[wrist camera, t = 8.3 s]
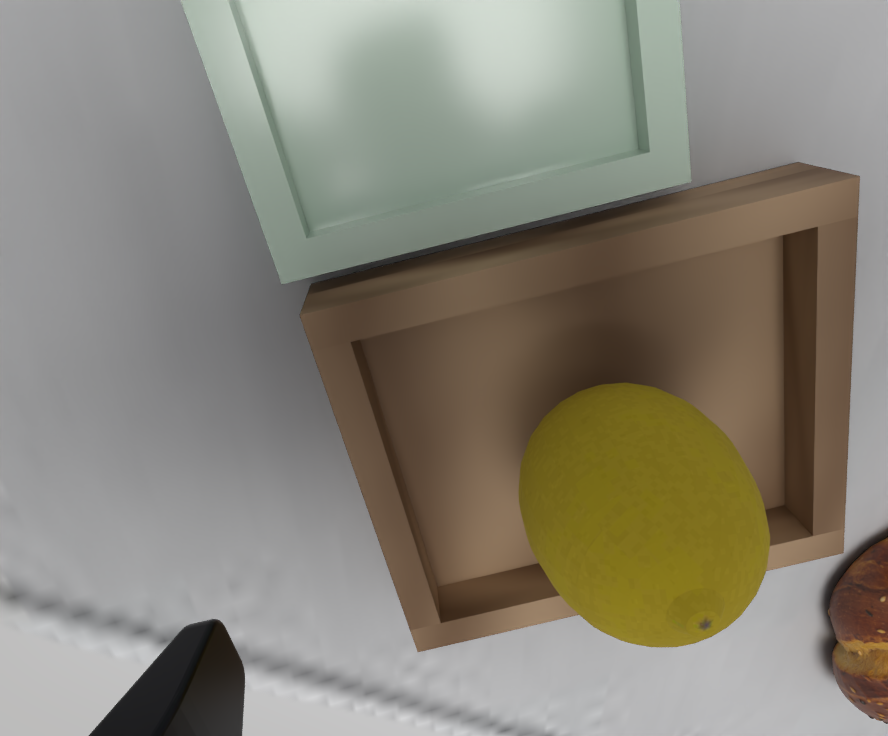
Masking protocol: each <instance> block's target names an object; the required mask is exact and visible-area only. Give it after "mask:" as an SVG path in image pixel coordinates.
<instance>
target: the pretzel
mask: <svg viewBox="0 0 888 736" xmlns="http://www.w3.org/2000/svg"><path fill="white" fill-rule="evenodd" d="M828 614H829V616H830V619H831V623H832V626H833V629H834V631H835V635H836V639H837V640H838V642H837V644H836V645H835V647H834V649H833V652H832V667H833V674H834V676H835V679H836V681H837V683H838V685H839V687H840V689H841V691H842V692H843V694H844V695H845V696H846V698H847V699H848V700H849V701H850V702H851V703H852V704H854V705H855V706H856V707H857V708H858V709H859V710H861V711H862V712H864V713H865V714H867V715H868V716H869V717H870V718H872V719H874V718H875V719H876V720H879V721H883V722H884V723H886V724H888V537H887V538H886V539H884V540H882V541H880V542H878V543H876V544H874V545H872V546H871V547H870V548H869V549H867V550H866V551H865V552H864V553H863V554H862V555H861V556H860V557H859V558H858V559H857V560H855V561H854V562H853V564H852V565H851V566H850V567H849V568H848V569H847V571H846V572H845V574H844V575H843V576H842V577H841V579H840V580H839V582H838V583H837V585H836V587H835V588H834V591H833V593H832V595H831V599H830V608H829V609H828Z"/></svg>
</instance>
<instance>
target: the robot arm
mask: <svg viewBox="0 0 888 736" xmlns="http://www.w3.org/2000/svg"><path fill="white" fill-rule="evenodd" d="M244 691H245V673H244V667H243V664H242V661H241V659H240V657H239V655H238V653H237V650H236V648H235V646H234V644H233V642H232V640H231V638H230V636H229V634H228V632H227V630H226V628H225V626H224V625H223V623H222V622H221V621H220V620H217V619H211V620H207V621H202V622H198V623H194V624H190V625H188V626H186V627H184V628H183V629H182V630H181V631H180V632H179V634H178V635H177V636H176V637H175V638H174V639H173V640H172V641H171V643H170V644H169V645H168V646H167V647H166V648H165V649H164V651H163V652H162V653H161V654H160V655H159V656H158V657H157V659H156V660H155V661H154V662H153V663H152V664H151V665H150V667H149V668H148V669H147V670H146V671H145V672H144V673H143V675H142V676H141V677H140V678H139V679H138V680H137V681H136V682H135V684H134V685H133V686H132V687H131V688H130V689H129V691H128V692H127V693H126V694H125V695H124V696H123V697H122V698H121V700H120V701H119V702H118V703H117V704H116V705H115V706H114V708H113V709H112V710H111V711H110V712H109V713H108V714H107V715H106V717H105V718H104V719H103V720H102V721H101V722H100V723H99V725H98V726H97V727H96V728H95V729H94V730H93V731H92V733H91V734H90V735H89V736H242V727H243V708H244Z"/></svg>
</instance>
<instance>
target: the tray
mask: <svg viewBox="0 0 888 736" xmlns="http://www.w3.org/2000/svg"><path fill="white" fill-rule="evenodd" d="M859 183H860V176H857V175H852V174H848V173H844V172H839V171H835V170H830V169H826V168H822V167H817V166H813V165H808V164H804V163H800V162H797V163H793V164H789V165H785V166H781V167H777V168H773V169H769V170H765V171H761V172H757V173H753V174H749V175H745V176H741V177H737V178H733V179H729V180H725V181H721V182H717V183H713V184H709V185H705V186H701V187H697V188H693V189H689V190H685V191H681V192H677V193H673V194H669V195H665V196H661V197H657V198H653V199H649V200H645V201H641V202H637V203H633V204H629V205H625V206H621V207H617V208H613V209H609V210H605V211H601V212H597V213H593V214H589V215H585V216H581V217H577V218H573V219H569V220H565V221H561V222H557V223H553V224H549V225H545V226H541V227H537V228H533V229H529V230H525V231H521V232H517V233H513V234H509V235H505V236H501V237H497V238H493V239H489V240H485V241H481V242H477V243H473V244H469V245H465V246H461V247H457V248H453V249H449V250H445V251H441V252H437V253H433V254H429V255H425V256H421V257H417V258H413V259H409V260H405V261H401V262H397V263H393V264H389V265H385V266H381V267H377V268H373V269H369V270H365V271H361V272H357V273H353V274H349V275H345V276H341V277H337V278H333V279H329V280H325V281H321V282H317V283H313V284H311V285H310V288H309V291H308V294H307V296H306V299H305V302H304V305H303V307H302V310H301V313H300V318H301V321H302V324H303V327H304V330H305V333H306V335H307V338H308V341H309V344H310V347H311V350H312V352H313V355H314V358H315V361H316V364H317V367H318V369H319V372H320V375H321V378H322V381H323V384H324V387H325V389H326V392H327V395H328V398H329V401H330V404H331V406H332V409H333V412H334V415H335V418H336V421H337V424H338V426H339V429H340V432H341V435H342V438H343V441H344V443H345V446H346V449H347V452H348V455H349V458H350V460H351V463H352V466H353V469H354V472H355V475H356V478H357V480H358V483H359V486H360V489H361V492H362V495H363V497H364V500H365V503H366V506H367V509H368V512H369V515H370V517H371V520H372V523H373V526H374V529H375V532H376V534H377V537H378V540H379V543H380V546H381V549H382V551H383V554H384V557H385V560H386V563H387V566H388V569H389V571H390V574H391V577H392V580H393V583H394V586H395V588H396V591H397V594H398V597H399V600H400V603H401V606H402V608H403V611H404V614H405V617H406V620H407V623H408V625H409V628H410V631H411V634H412V637H413V640H414V642H415V645H416V648H417V651H418V652H421V651H425V650H429V649H434V648H438V647H442V646H447V645H451V644H455V643H459V642H464V641H468V640H472V639H477V638H481V637H485V636H490V635H494V634H498V633H502V632H507V631H511V630H515V629H520V628H524V627H528V626H532V625H537V624H541V623H545V622H550V621H554V620H558V619H563V618H567V617H571V616H575V615H579V614H578V613H577V612H576V611H575V610H574V609H572V608H571V607H570V606H569V605H568V604H567V603H566V602H565V600H564V599H563V598H562V597H561V596H560V594H559V593H558V592H557V590H556V589H555V588H554V586H553V585H552V583H551V581H550V580H549V578H548V577H547V575H546V573H545V572H544V570H543V569H542V567H541V565H540V564H539V562H538V561H537V559H536V557H535V555H534V553H533V551H532V549H531V547H530V544H529V542H528V539H527V535H526V531H525V527H524V523H523V519H522V515H521V511H520V505H519V479H520V467H521V461H522V458H523V456H524V453H525V450H526V447H527V445H528V442H529V439H530V437H531V435H532V434H533V432H534V431H535V429H536V428H537V426H538V425H539V423H540V422H541V421H542V419H543V418H544V417H545V416H546V415H547V414H548V413H549V412H550V411H551V410H552V409H553V408H554V407H555V406H557V405H558V404H559V403H560V402H561V401H563V400H565V399H567V398H568V397H570V396H572V395H574V394H575V393H577V392H579V391H582V390H585V389H588V388H591V387H594V386H598V385H602V384H614V383H632V384H639V385H645V386H651V387H655V388H658V389H660V390H663V391H665V392H667V393H669V394H672V395H674V396H676V397H679V398H681V399H683V400H685V401H687V402H688V403H690V404H692V405H693V406H694V407H696V408H697V409H698V410H699V411H701V412H702V413H703V414H704V415H705V416H706V417H708V418H709V419H710V420H711V421H712V422H713V423H715V424H716V425H717V426H718V427H719V428H720V429H721V430H722V431H723V432H724V433H725V434H726V435H727V437H728V438H729V439H730V440H731V442H732V443H733V445H734V446H735V448H736V449H737V451H738V452H739V454H740V456H741V457H742V459H743V461H744V462H745V464H746V466H747V467H748V469H749V471H750V473H751V474H752V476H753V478H754V480H755V482H756V484H757V487H758V489H759V491H760V494H761V497H762V500H763V503H764V507H765V512H766V517H767V522H768V527H769V533H770V548H769V556H768V564H767V569H766V571H769V570H773V569H777V568H782V567H786V566H790V565H794V564H799V563H803V562H807V561H812V560H816V559H820V558H824V557H829V556H833V555H837V554H842V553H843V551H844V528H845V505H846V482H847V459H848V436H849V413H850V390H851V367H852V344H853V321H854V298H855V275H856V252H857V229H858V206H859Z"/></svg>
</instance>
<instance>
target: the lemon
mask: <svg viewBox="0 0 888 736" xmlns="http://www.w3.org/2000/svg"><path fill="white" fill-rule="evenodd" d="M519 505H520V511H521V515H522V519H523V523H524V527H525V531H526V535H527V539H528V542H529V544H530V547H531V549H532V551H533V553H534V555H535V557H536V559H537V561H538V562H539V564H540V565H541V567H542V569H543V570H544V572H545V573H546V575H547V577H548V578H549V580H550V581H551V583H552V585H553V586H554V588H555V589H556V590H557V592H558V593H559V594H560V596H561V597H562V598H563V599H564V600H565V602H566V603H567V604H568V605H569V606H570V607H571V608H572V609H574V610H575V611H576V612H577V613H578V614H579V615H580V616H582V617H583V618H584V619H585V620H586V621H587V622H589V623H590V624H591V625H592V626H593V627H595V628H597V629H599V630H600V631H602V632H604V633H606V634H608V635H610V636H613V637H615V638H617V639H619V640H622V641H625V642H628V643H632V644H637V645H643V646H648V647H679V646H683V645H688V644H693V643H696V642H699V641H701V640H704V639H707V638H709V637H712V636H713V635H715V634H717V633H718V632H720V631H722V630H723V629H725V628H727V627H728V626H729V625H730V624H732V623H733V622H734V621H735V620H736V619H737V618H738V617H740V616H741V615H742V613H743V612H744V611H745V609H746V608H747V607H748V605H749V604H750V603H751V601H752V600H753V598H754V597H755V596H756V594H757V591H758V589H759V587H760V585H761V582H762V580H763V578H764V575H765V572H766V569H767V564H768V556H769V548H770V533H769V527H768V522H767V517H766V512H765V507H764V503H763V500H762V497H761V494H760V491H759V489H758V487H757V484H756V482H755V480H754V478H753V476H752V474H751V473H750V471H749V469H748V467H747V466H746V464H745V462H744V461H743V459H742V457H741V456H740V454H739V452H738V451H737V449H736V448H735V446H734V445H733V443H732V442H731V440H730V439H729V438H728V437H727V435H726V434H725V433H724V432H723V431H722V430H721V429H720V428H719V427H718V426H717V425H716V424H715V423H713V422H712V421H711V420H710V419H709V418H708V417H706V416H705V415H704V414H703V413H702V412H701V411H699V410H698V409H697V408H696V407H694V406H693V405H692V404H690V403H688V402H687V401H685V400H683V399H681V398H679V397H676V396H674V395H672V394H669V393H667V392H665V391H663V390H660V389H658V388H655V387H651V386H645V385H639V384H632V383H614V384H602V385H598V386H594V387H591V388H588V389H585V390H582V391H579V392H577V393H575V394H574V395H572V396H570V397H568V398H567V399H565V400H563V401H561V402H560V403H559V404H558V405H557V406H555V407H554V408H553V409H552V410H551V411H550V412H549V413H548V414H547V415H546V416H545V417H544V418H543V419H542V421H541V422H540V423H539V425H538V426H537V428H536V429H535V431H534V432H533V434H532V435H531V437H530V439H529V442H528V445H527V447H526V450H525V453H524V456H523V458H522V461H521V467H520V479H519Z"/></svg>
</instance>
